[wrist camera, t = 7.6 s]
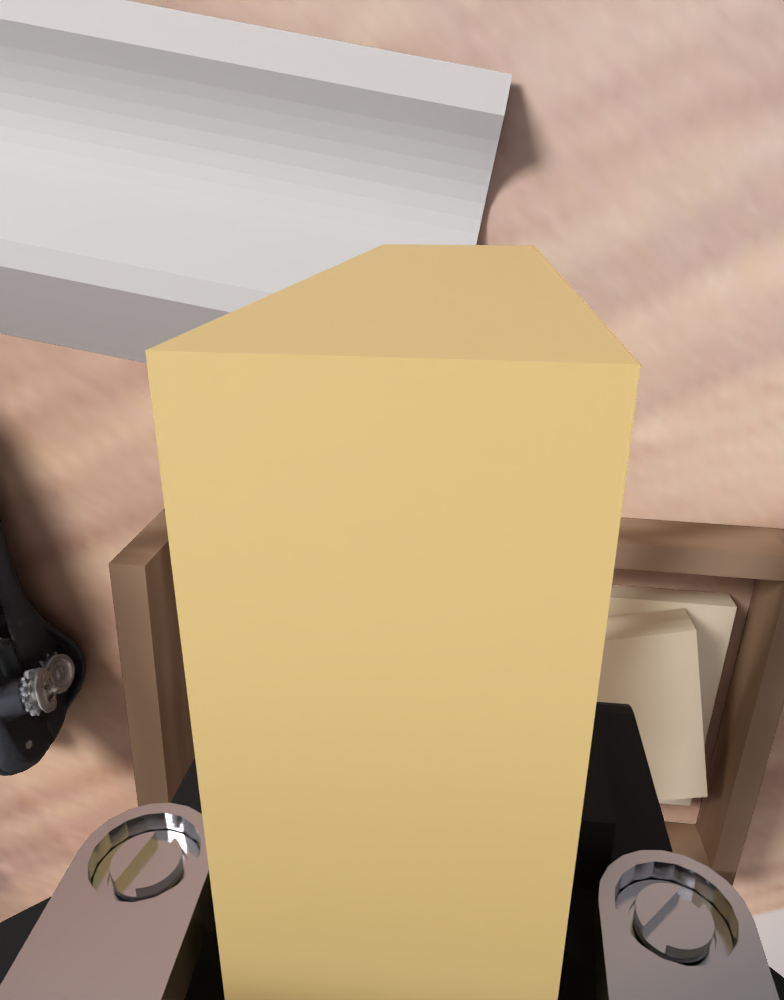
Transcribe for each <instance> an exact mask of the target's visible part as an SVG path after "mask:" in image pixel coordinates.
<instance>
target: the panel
mask: <svg viewBox="0 0 784 1000" xmlns="http://www.w3.org/2000/svg"><path fill="white" fill-rule="evenodd" d="M145 353H146V361H147V369H148V377H149V385H150V393H151V402H152V410H153V418H154V426H155V434H156V442H157V451H158V459H159V467H160V475H161V483H162V491H163V499H164V508H165V516H166V524H167V532H168V540H169V548H170V557H171V565H172V573H173V581H174V589H175V597H176V605H177V614H178V622H179V630H180V638H181V646H182V654H183V663H184V671H185V679H186V687H187V695H188V703H189V711H190V720H191V728H192V736H193V744H194V752H195V760H196V769H197V777H198V785H199V793H200V801H201V809H202V817H203V826H204V834H205V842H206V850H207V858H208V866H209V875H210V883H211V891H212V899H213V907H214V915H215V923H216V932H217V940H218V948H219V956H220V964H221V972H222V981H223V989H224V997H225V1000H558V993H559V985H560V977H561V970H562V962H563V955H564V947H565V939H566V932H567V924H568V916H569V909H570V901H571V893H572V886H573V878H574V871H575V863H576V855H577V848H578V840H579V832H580V825H581V817H582V809H583V802H584V794H585V787H586V779H587V771H588V764H589V756H590V748H591V741H592V733H593V726H594V718H595V710H596V703H597V695H598V687H599V680H600V672H601V664H602V657H603V649H604V642H605V634H606V626H607V619H608V611H609V603H610V596H611V588H612V580H613V573H614V565H615V558H616V550H617V542H618V535H619V527H620V519H621V512H622V504H623V496H624V489H625V481H626V474H627V466H628V458H629V451H630V443H631V435H632V428H633V420H634V412H635V405H636V397H637V390H638V382H639V374H640V367H641V364H640V363H639V362H638V361H637V359H636V358H635V357H634V356H633V355H632V354H631V353H630V352H629V351H628V349H627V348H626V347H625V346H624V345H623V344H622V343H621V342H620V341H619V339H618V338H617V337H616V336H615V335H614V334H613V333H612V332H611V331H610V329H609V328H608V327H607V326H606V325H605V324H604V323H603V322H602V321H601V319H600V318H599V317H598V316H597V315H596V314H595V313H594V312H593V310H592V309H591V308H590V307H589V306H588V305H587V304H586V303H585V302H584V300H583V299H582V298H581V297H580V296H579V295H578V294H577V293H576V292H575V290H574V289H573V288H572V287H571V286H570V285H569V284H568V283H567V282H566V280H565V279H564V278H563V277H562V276H561V275H560V274H559V273H558V272H557V270H556V269H555V268H554V267H553V266H552V265H551V264H550V263H549V262H548V260H547V259H546V258H545V257H544V256H543V255H542V254H541V253H540V252H539V250H538V249H537V248H536V247H535V246H513V245H419V244H383V245H380V246H378V247H376V248H374V249H371V250H369V251H367V252H365V253H362V254H360V255H358V256H356V257H353V258H351V259H349V260H347V261H345V262H342V263H340V264H338V265H336V266H333V267H331V268H329V269H327V270H324V271H322V272H320V273H318V274H315V275H313V276H311V277H309V278H306V279H304V280H302V281H300V282H298V283H295V284H293V285H291V286H289V287H286V288H284V289H282V290H280V291H277V292H275V293H273V294H271V295H268V296H266V297H264V298H262V299H259V300H257V301H255V302H253V303H250V304H248V305H246V306H244V307H242V308H239V309H237V310H235V311H233V312H230V313H228V314H226V315H224V316H221V317H219V318H217V319H215V320H212V321H210V322H208V323H206V324H203V325H201V326H199V327H197V328H194V329H192V330H190V331H188V332H186V333H183V334H181V335H179V336H177V337H174V338H172V339H170V340H168V341H165V342H163V343H161V344H159V345H156V346H154V347H152V348H150V349H147V350H145Z"/></svg>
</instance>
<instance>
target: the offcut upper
mask: <svg viewBox="0 0 784 1000" xmlns="http://www.w3.org/2000/svg"><path fill="white" fill-rule="evenodd" d="M597 702H608V703H621V704H629V705H630V706H631V707H632V709H633V712H634V715H635V718H636V722H637V725H638V729H639V733H640V736H641V740H642V743H643V747H644V750H645V754H646V758H647V761H648V765H649V768H650V772H651V776H652V779H653V783H654V786H655V790H656V793H657V797H658V801H663V800H675V799H687V798H699V797H708V795H707V780H706V765H705V751H704V736H703V721H702V707H701V692H700V677H699V662H698V648H697V633H696V629H695V627H694V625H693V623H692V621H691V619H690V617H689V615H688V613H687V611H686V609H685V608H681V609H673V610H665V611H657V612H649V613H641V614H632V615H624V616H616V617H608V619H607V626H606V634H605V642H604V649H603V657H602V664H601V672H600V680H599V687H598V695H597Z"/></svg>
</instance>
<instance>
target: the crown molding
mask: <svg viewBox="0 0 784 1000" xmlns="http://www.w3.org/2000/svg"><path fill="white" fill-rule="evenodd" d="M511 79H512V74H509V73H503V72H498V71H493V70H488V69H482V68H477V67H472V66H467V65H462V64H456V63H451V62H446V61H441V60H435V59H430V58H425V57H420V56H414V55H409V54H404V53H399V52H394V51H388V50H383V49H378V48H373V47H367V46H362V45H357V44H352V43H346V42H341V41H336V40H331V39H325V38H320V37H315V36H310V35H305V34H299V33H294V32H289V31H284V30H278V29H273V28H268V27H263V26H257V25H252V24H247V23H242V22H237V21H231V20H226V19H221V18H216V17H210V16H205V15H200V14H195V13H189V12H184V11H179V10H174V9H169V8H163V7H158V6H153V5H148V4H142V3H137V2H132V1H127V0H0V334H5V335H10V336H15V337H20V338H25V339H29V340H34V341H39V342H44V343H49V344H54V345H59V346H64V347H69V348H74V349H79V350H84V351H88V352H93V353H98V354H103V355H108V356H113V357H118V358H123V359H128V360H133V361H138V362H143V363H147V361H146V353H145V350H147V349H150V348H152V347H154V346H156V345H159V344H161V343H163V342H165V341H168V340H170V339H172V338H174V337H177V336H179V335H181V334H183V333H186V332H188V331H190V330H192V329H194V328H197V327H199V326H201V325H203V324H206V323H208V322H210V321H212V320H215V319H217V318H219V317H221V316H224V315H226V314H228V313H230V312H233V311H235V310H237V309H239V308H242V307H244V306H246V305H248V304H250V303H253V302H255V301H257V300H259V299H262V298H264V297H266V296H268V295H271V294H273V293H275V292H277V291H280V290H282V289H284V288H286V287H289V286H291V285H293V284H295V283H298V282H300V281H302V280H304V279H306V278H309V277H311V276H313V275H315V274H318V273H320V272H322V271H324V270H327V269H329V268H331V267H333V266H336V265H338V264H340V263H342V262H345V261H347V260H349V259H351V258H353V257H356V256H358V255H360V254H362V253H365V252H367V251H369V250H371V249H374V248H376V247H378V246H380V245H383V244H419V245H476V244H477V239H478V234H479V229H480V224H481V220H482V215H483V210H484V205H485V201H486V196H487V192H488V187H489V182H490V178H491V173H492V169H493V164H494V160H495V155H496V151H497V146H498V142H499V137H500V133H501V128H502V124H503V120H504V115H505V110H506V105H507V100H508V95H509V89H510V84H511Z"/></svg>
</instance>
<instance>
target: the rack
mask: <svg viewBox="0 0 784 1000" xmlns="http://www.w3.org/2000/svg"><path fill="white" fill-rule="evenodd" d="M614 568H618V569H631V570H644V571H658V572H671V573H684V574H698V575H711V576H724V577H737V578H751V579H756V581H755V585H754V590H753V594H752V598H751V602H750V606H749V610H748V614H747V618H746V622H745V626H744V630H743V634H742V639H741V643H740V647H739V651H738V655H737V659H736V663H735V667H734V671H733V675H732V679H731V683H730V688H729V692H728V696H727V700H726V704H725V708H724V712H723V716H722V720H721V724H720V728H719V733H718V737H717V741H716V745H715V749H714V753H713V757H712V761H711V765H710V769H709V773H708V777H707V795H708V797H703V798H702V802H701V806H700V810H699V814H698V818H697V822H696V825H691V824H681V823H672V822H665V826H666V829H667V833H668V836H669V840H670V844H671V847H672V851H673V853H676V854H680V855H684V856H687V857H689V858H691V859H693V860H695V861H697V862H699V863H701V864H704V865H706V866H708V867H709V868H710V869H712V870H713V871H714V872H716V873H717V874H718V875H720V876H721V877H722V878H724V879H725V880H726V881H728V882H729V884H730V885H731V886H732V885H733V881H734V878H735V874H736V871H737V867H738V864H739V860H740V857H741V853H742V849H743V846H744V842H745V839H746V835H747V832H748V828H749V824H750V821H751V817H752V814H753V810H754V807H755V803H756V799H757V796H758V792H759V789H760V785H761V782H762V778H763V774H764V771H765V767H766V764H767V760H768V757H769V753H770V749H771V746H772V742H773V739H774V735H775V732H776V728H777V724H778V721H779V717H780V714H781V710H782V707H783V703H784V529H778V528H764V527H750V526H735V525H721V524H707V523H692V522H678V521H664V520H649V519H635V518H621V519H620V527H619V535H618V542H617V550H616V558H615V565H614ZM109 570H110V578H111V587H112V595H113V603H114V611H115V619H116V628H117V636H118V644H119V652H120V661H121V669H122V677H123V685H124V693H125V702H126V710H127V718H128V726H129V735H130V743H131V751H132V759H133V768H134V776H135V784H136V792H137V800H138V807H140V806H144V805H147V804H156V803H171V801H172V799H173V797H174V795H175V794H176V792H177V790H178V788H179V786H180V784H181V782H182V780H183V778H184V777H185V775H186V773H187V771H188V769H189V767H190V765H191V763H192V761H193V759H194V758H195V752H194V744H193V736H192V728H191V720H190V711H189V703H188V695H187V687H186V679H185V671H184V663H183V654H182V646H181V638H180V630H179V622H178V614H177V605H176V597H175V589H174V581H173V573H172V565H171V557H170V548H169V540H168V532H167V524H166V516H165V509H164V510H163V511H162V512H160V513H159V514H158V515H157V516H156V517H155V518H154V519H153V520H152V521H151V522H150V523H149V524H148V525H147V526H146V527H145V528H144V529H143V530H142V531H141V532H140V533H139V534H138V535H137V536H136V537H135V538H134V539H133V540H132V541H131V542H130V543H129V544H128V545H127V546H126V547H125V548H124V549H123V550H122V551H121V552H120V553H119V554H118V555H117V556H116V557H115V558H114V559H113V560H112V561H111V562H110V563H109Z"/></svg>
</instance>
